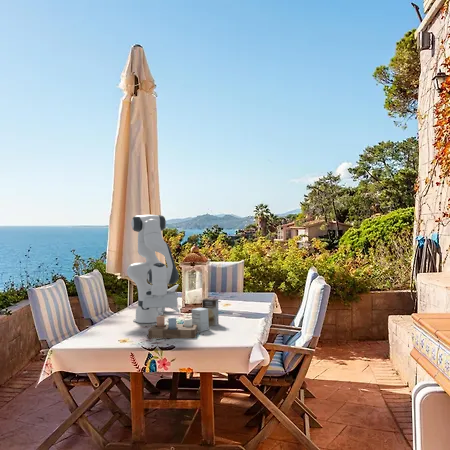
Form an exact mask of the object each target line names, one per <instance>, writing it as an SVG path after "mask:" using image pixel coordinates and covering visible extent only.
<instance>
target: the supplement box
mask: <svg viewBox="0 0 450 450" xmlns="http://www.w3.org/2000/svg"><path fill="white" fill-rule="evenodd" d="M191 319H192V324H198V332H199V333H200V332H203V331H208V330H210V329H209V327H210V326H209V321H208V309H207V308H202V307H196V308H192V309H191Z"/></svg>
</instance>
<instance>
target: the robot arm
mask: <svg viewBox="0 0 450 450" xmlns="http://www.w3.org/2000/svg"><path fill="white" fill-rule="evenodd" d="M130 224H131V228H132V231H133V232H136V233H138V234H137V252H138V255H139V256H141V257H142V258H145V261H144V262H135V263H131V264H129V265H128V267H127V269H126V275H127V276H128V278H129V279H130V280H132V281H133V283H134V284H135V285H136V288H137V293H138V294H137V295H138V300H137V307H136V308H135V319H133V320H132V321H133V323H134V322H135V323H138V324H151V323H157V316H164V312H165V310H166V308H169V307H177V308H178V305H179V304H178V303H179V302H178V297H179V294H178V292H177V291H176V290H175V291H168V289H169V288H168V285H175V284H176V283H177V282H178V281H179V277H180V276H179V271H178V269H177V267H176V263H175V260H174V257H173V254H172V250H171V248H170V245H169V243H168V242H166V241H165V240H164V238H163V235H162V232H163V231H164V230H165V229H166V225H167V221H166V218H165V216H164V215H162V214H158V215H157V214H142V215H134V216H132V219H131V222H130ZM157 253H160V254H161V255H162V256H163V257H164V258H165V262H166V263H163V262H162V261H160V259H158V256H157V255H156V254H157ZM159 308H162V311H161V312H159V310H158V309H159Z"/></svg>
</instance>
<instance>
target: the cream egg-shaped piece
mask: <svg viewBox="0 0 450 450" xmlns="http://www.w3.org/2000/svg"><path fill="white" fill-rule="evenodd" d="M183 323H184V324H183V325H184V327H192V318H185V319H183Z"/></svg>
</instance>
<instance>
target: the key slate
mask: <svg viewBox="0 0 450 450" xmlns="http://www.w3.org/2000/svg"><path fill="white" fill-rule="evenodd" d="M167 323H168V324H167V325H168V330H177V325H178V324H177V318H176V317H172V318H171V317H170V318H167Z"/></svg>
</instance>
